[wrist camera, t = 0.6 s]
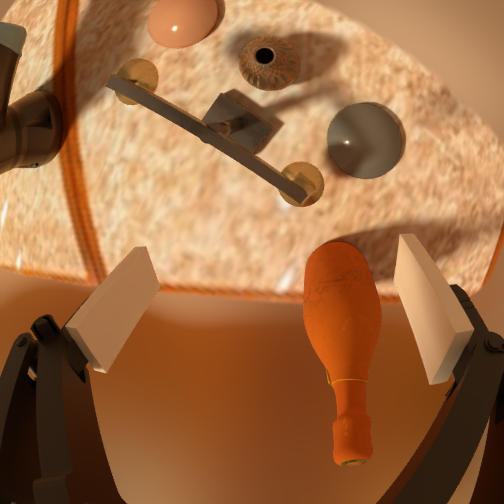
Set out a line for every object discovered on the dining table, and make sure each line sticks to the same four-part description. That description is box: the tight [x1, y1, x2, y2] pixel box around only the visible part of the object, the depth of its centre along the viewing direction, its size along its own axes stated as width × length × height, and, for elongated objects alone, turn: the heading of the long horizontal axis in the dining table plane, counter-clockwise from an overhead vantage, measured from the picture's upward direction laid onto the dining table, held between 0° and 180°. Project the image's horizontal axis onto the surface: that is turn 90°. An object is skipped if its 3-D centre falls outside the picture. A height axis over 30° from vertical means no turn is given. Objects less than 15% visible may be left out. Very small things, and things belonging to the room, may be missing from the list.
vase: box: [239, 36, 300, 91], centre depth 26 cm, size 7×7×9 cm
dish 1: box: [148, 0, 218, 48], centre depth 26 cm, size 10×10×1 cm
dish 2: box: [327, 104, 402, 179], centre depth 32 cm, size 10×10×1 cm
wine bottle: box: [303, 242, 382, 466], centre depth 29 cm, size 10×10×30 cm
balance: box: [106, 59, 324, 207], centre depth 27 cm, size 26×5×15 cm, turn 54°
